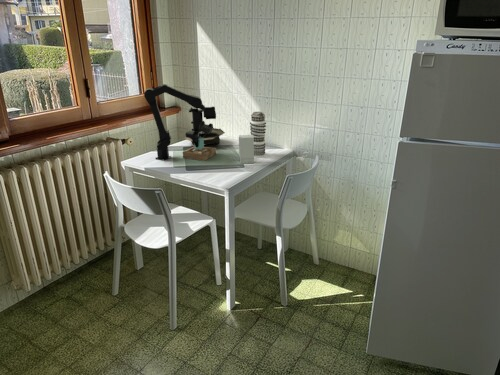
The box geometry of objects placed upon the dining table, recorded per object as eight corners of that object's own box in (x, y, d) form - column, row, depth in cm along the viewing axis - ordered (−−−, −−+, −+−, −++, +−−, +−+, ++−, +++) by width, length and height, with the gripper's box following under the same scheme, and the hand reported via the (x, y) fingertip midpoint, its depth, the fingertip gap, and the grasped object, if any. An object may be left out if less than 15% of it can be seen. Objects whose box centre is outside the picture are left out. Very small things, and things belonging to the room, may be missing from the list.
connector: (200, 149, 221) (199, 137, 218) (194, 148, 222) (193, 137, 219) (204, 147, 224) (203, 136, 221) (198, 147, 225) (197, 135, 223)
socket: (203, 156, 221) (202, 151, 220) (192, 155, 224) (191, 150, 223) (207, 154, 225) (207, 149, 224) (196, 153, 228) (196, 148, 227)
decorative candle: (263, 158, 220) (263, 114, 210) (248, 156, 222) (247, 113, 213) (267, 153, 228) (268, 111, 218) (253, 152, 230) (252, 110, 221)
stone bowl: (231, 142, 251) (230, 128, 247) (208, 154, 232) (207, 140, 228) (201, 137, 263) (200, 123, 259) (177, 148, 244) (175, 134, 240)
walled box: (204, 160, 216) (203, 154, 215) (183, 157, 221) (182, 151, 220) (216, 153, 228) (215, 148, 227) (195, 151, 233) (195, 145, 232)
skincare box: (254, 160, 216) (253, 134, 211) (254, 163, 211) (254, 137, 205) (239, 160, 216) (238, 134, 211) (239, 163, 211) (238, 137, 205)
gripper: (201, 124, 206) (203, 152, 212) (218, 117, 222) (219, 143, 227) (183, 122, 210) (185, 150, 216) (201, 116, 226) (202, 141, 232)
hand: (199, 146), depth 223 cm, fingers closed on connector, 4 cm apart
